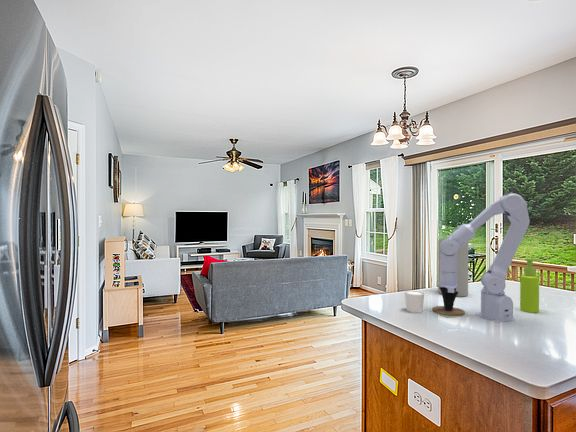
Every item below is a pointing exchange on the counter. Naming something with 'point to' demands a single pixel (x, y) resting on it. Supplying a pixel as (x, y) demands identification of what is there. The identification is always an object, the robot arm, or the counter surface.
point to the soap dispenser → (529, 288)
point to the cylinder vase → (458, 269)
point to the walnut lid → (448, 311)
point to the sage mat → (449, 316)
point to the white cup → (414, 301)
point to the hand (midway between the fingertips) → (448, 308)
